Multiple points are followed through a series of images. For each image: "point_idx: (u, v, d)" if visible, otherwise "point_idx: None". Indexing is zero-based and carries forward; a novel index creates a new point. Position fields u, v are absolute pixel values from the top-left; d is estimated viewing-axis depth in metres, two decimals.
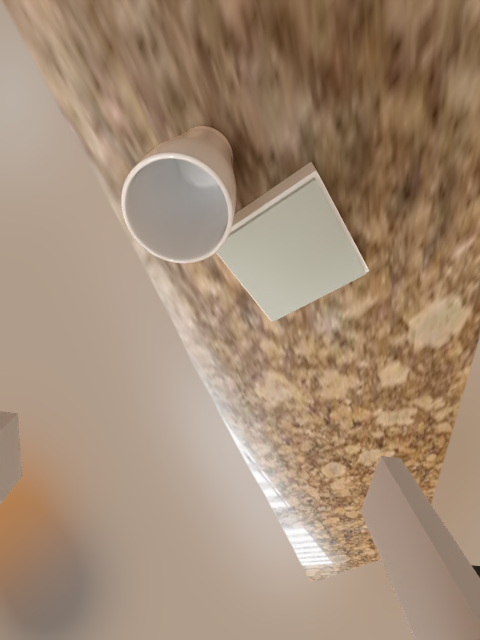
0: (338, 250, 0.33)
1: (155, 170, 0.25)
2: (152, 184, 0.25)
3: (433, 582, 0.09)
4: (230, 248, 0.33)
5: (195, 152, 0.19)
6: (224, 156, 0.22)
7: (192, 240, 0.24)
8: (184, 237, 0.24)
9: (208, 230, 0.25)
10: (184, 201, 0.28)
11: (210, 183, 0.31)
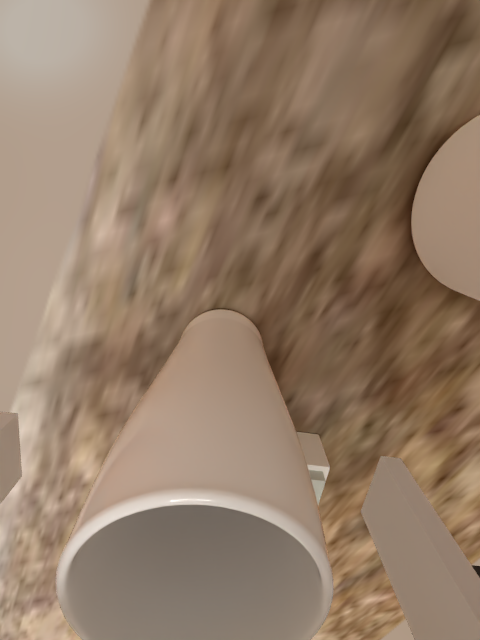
0: None
1: None
2: None
3: (433, 582, 0.09)
4: None
5: (317, 515, 0.08)
6: None
7: (152, 544, 0.12)
8: (141, 524, 0.12)
9: (184, 523, 0.13)
10: None
11: None
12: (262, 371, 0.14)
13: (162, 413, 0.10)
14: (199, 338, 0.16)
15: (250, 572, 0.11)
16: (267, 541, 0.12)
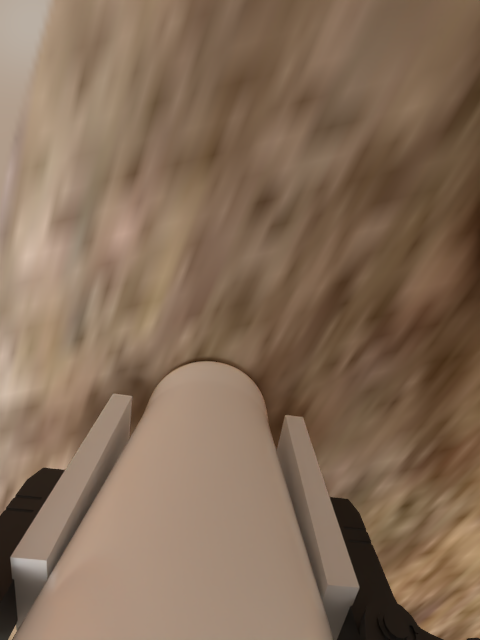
0: None
1: None
2: None
3: (298, 509, 0.10)
4: None
5: None
6: None
7: None
8: None
9: None
10: None
11: None
12: (273, 522, 0.07)
13: None
14: (165, 435, 0.10)
15: None
16: None
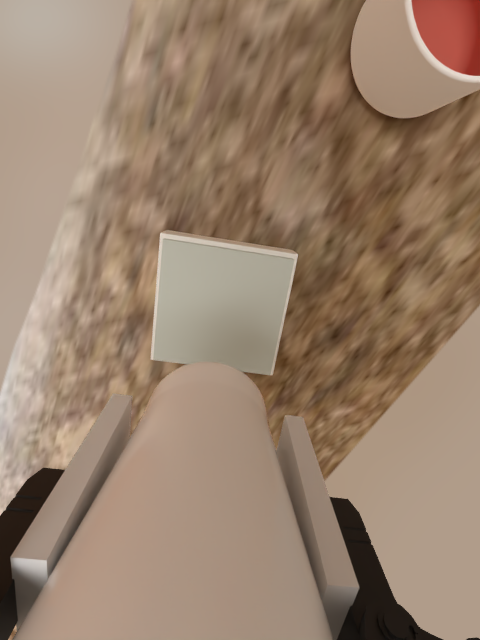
0: (265, 335, 0.31)
1: None
2: None
3: (298, 509, 0.10)
4: (177, 254, 0.28)
5: None
6: None
7: None
8: None
9: None
10: None
11: None
12: (273, 523, 0.07)
13: None
14: (165, 435, 0.09)
15: None
16: None
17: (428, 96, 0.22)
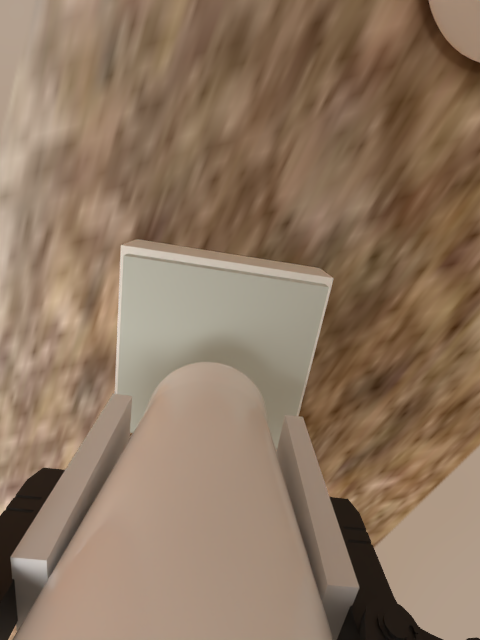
0: (281, 396, 0.21)
1: None
2: None
3: (298, 509, 0.10)
4: (147, 279, 0.18)
5: None
6: None
7: None
8: None
9: None
10: None
11: None
12: (273, 523, 0.07)
13: None
14: (165, 436, 0.09)
15: None
16: None
17: None
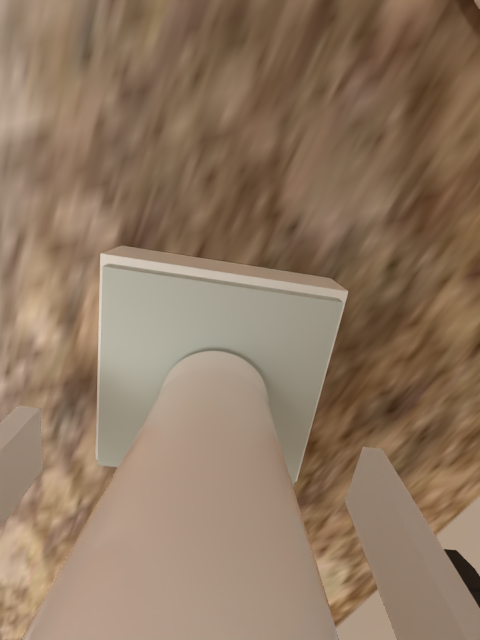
0: (287, 426, 0.18)
1: None
2: None
3: (406, 564, 0.09)
4: (131, 293, 0.15)
5: None
6: None
7: None
8: None
9: None
10: None
11: None
12: (268, 482, 0.09)
13: None
14: (176, 414, 0.11)
15: None
16: None
17: None
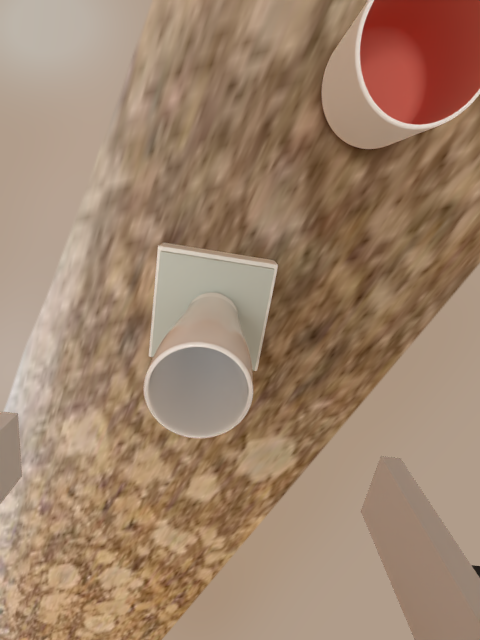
0: (249, 335, 0.35)
1: None
2: None
3: (433, 582, 0.09)
4: (173, 264, 0.32)
5: (247, 362, 0.21)
6: None
7: (177, 400, 0.24)
8: (171, 391, 0.24)
9: (192, 396, 0.25)
10: None
11: None
12: (231, 318, 0.26)
13: (181, 327, 0.22)
14: (197, 305, 0.28)
15: (225, 408, 0.23)
16: (233, 396, 0.24)
17: (382, 136, 0.27)
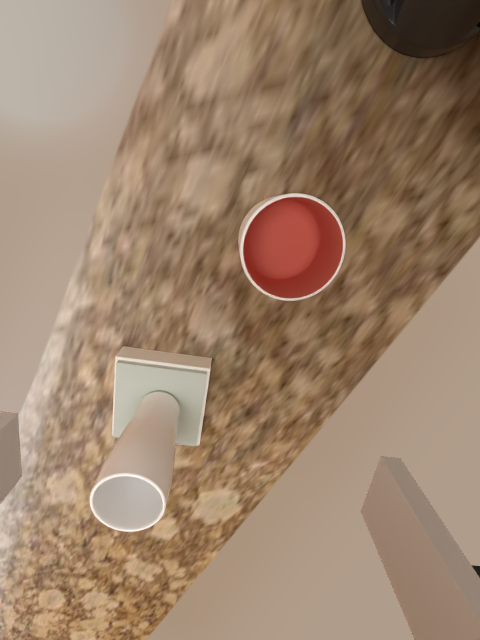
0: (190, 421, 0.44)
1: None
2: None
3: (433, 582, 0.09)
4: (127, 371, 0.42)
5: (162, 479, 0.30)
6: None
7: (120, 496, 0.33)
8: (116, 490, 0.33)
9: (133, 490, 0.34)
10: None
11: None
12: (162, 430, 0.35)
13: (118, 451, 0.31)
14: (140, 414, 0.37)
15: (153, 503, 0.32)
16: None
17: None
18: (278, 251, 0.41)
